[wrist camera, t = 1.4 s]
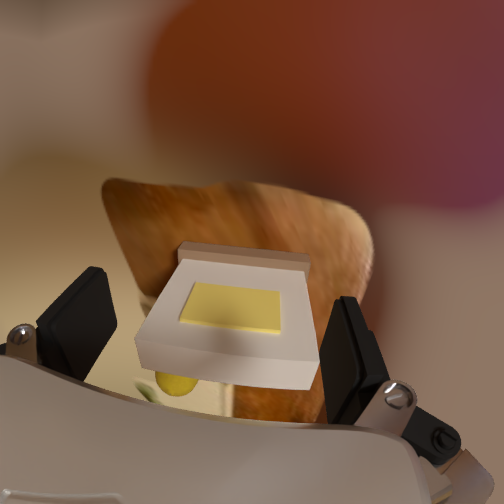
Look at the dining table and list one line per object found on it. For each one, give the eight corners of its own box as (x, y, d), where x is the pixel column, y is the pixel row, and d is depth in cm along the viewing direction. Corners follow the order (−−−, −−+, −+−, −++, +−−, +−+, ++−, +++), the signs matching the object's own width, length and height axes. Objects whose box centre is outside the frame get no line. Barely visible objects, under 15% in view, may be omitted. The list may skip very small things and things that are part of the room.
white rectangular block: (300, 294, 31) (313, 398, 18) (184, 282, 31) (138, 374, 18) (308, 254, 29) (331, 351, 16) (183, 241, 29) (125, 325, 16)
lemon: (204, 366, 37) (192, 411, 30) (167, 358, 37) (149, 400, 30) (206, 338, 34) (193, 386, 27) (165, 329, 34) (144, 374, 27)
